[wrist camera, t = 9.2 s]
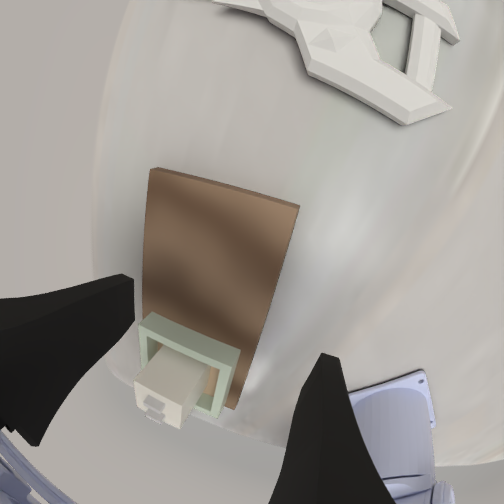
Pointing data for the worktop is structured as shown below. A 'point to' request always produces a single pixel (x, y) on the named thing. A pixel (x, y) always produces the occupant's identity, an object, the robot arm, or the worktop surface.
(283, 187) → the worktop surface
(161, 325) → the holder
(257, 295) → the board
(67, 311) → the robot arm
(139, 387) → the plug
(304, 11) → the gun
